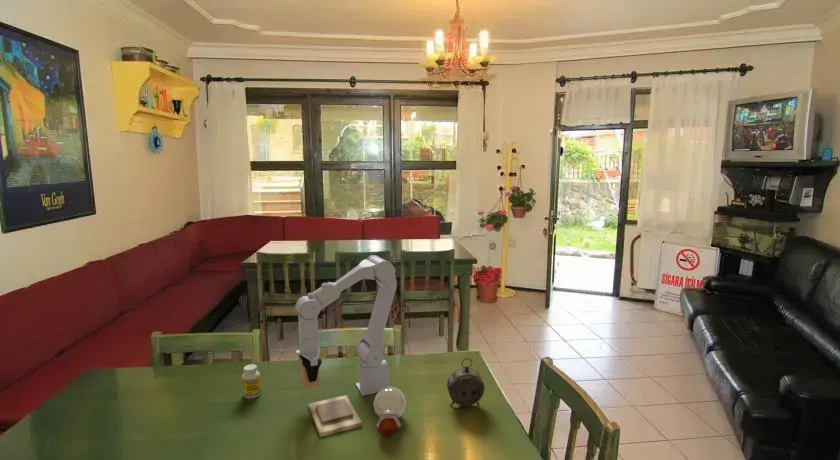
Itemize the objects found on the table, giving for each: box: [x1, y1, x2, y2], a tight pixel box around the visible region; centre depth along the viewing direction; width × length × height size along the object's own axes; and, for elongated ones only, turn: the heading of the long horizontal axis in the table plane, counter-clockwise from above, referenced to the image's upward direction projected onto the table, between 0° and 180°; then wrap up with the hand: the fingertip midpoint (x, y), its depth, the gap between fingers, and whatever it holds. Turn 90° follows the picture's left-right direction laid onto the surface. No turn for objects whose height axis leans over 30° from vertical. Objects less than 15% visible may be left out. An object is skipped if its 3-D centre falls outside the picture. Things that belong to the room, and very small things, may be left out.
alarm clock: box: [446, 357, 485, 412], centre depth 141 cm, size 11×5×16 cm, turn 96°
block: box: [300, 362, 320, 389], centre depth 143 cm, size 4×4×6 cm
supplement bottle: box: [241, 363, 262, 399], centre depth 149 cm, size 5×5×10 cm
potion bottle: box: [373, 385, 407, 439], centre depth 134 cm, size 9×10×15 cm
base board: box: [308, 394, 363, 438], centre depth 138 cm, size 12×16×2 cm
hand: (311, 377), depth 143 cm, fingers closed on block, 4 cm apart
